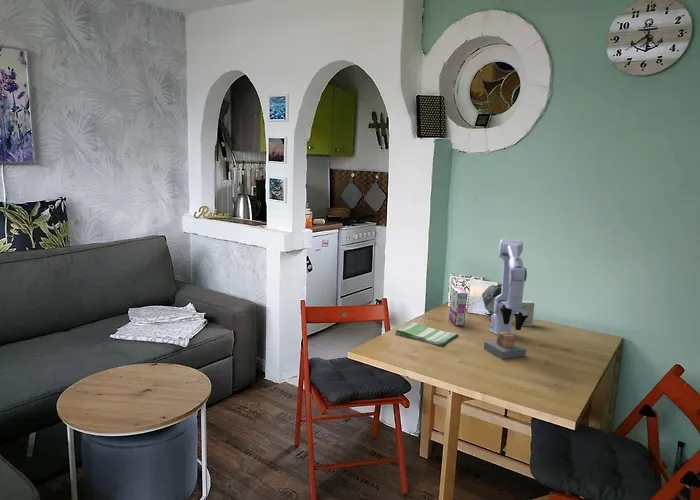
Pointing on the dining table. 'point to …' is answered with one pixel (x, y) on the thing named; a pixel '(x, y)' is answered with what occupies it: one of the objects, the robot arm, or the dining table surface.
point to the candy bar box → (458, 306)
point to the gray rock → (491, 297)
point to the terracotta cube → (505, 339)
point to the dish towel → (426, 334)
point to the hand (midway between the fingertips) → (512, 326)
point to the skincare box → (530, 308)
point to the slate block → (504, 350)
